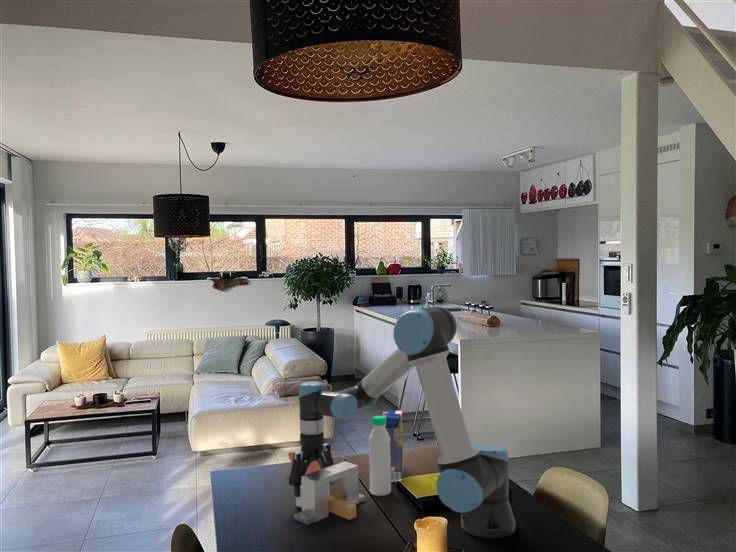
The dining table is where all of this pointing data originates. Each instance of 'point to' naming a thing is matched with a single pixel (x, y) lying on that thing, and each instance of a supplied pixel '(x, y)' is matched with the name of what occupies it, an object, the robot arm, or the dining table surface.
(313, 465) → the teapot
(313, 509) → the white arch block
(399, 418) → the beverage box
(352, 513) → the mallet
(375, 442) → the water bottle
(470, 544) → the dining table surface
